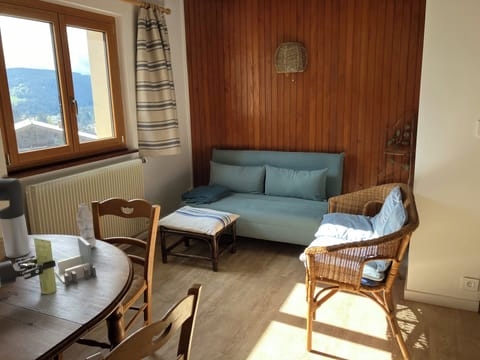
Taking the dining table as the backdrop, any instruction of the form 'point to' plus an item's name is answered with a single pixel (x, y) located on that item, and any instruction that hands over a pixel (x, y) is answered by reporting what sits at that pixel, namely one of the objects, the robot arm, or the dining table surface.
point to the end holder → (76, 262)
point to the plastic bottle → (86, 224)
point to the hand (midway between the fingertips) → (52, 260)
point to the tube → (43, 256)
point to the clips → (74, 278)
